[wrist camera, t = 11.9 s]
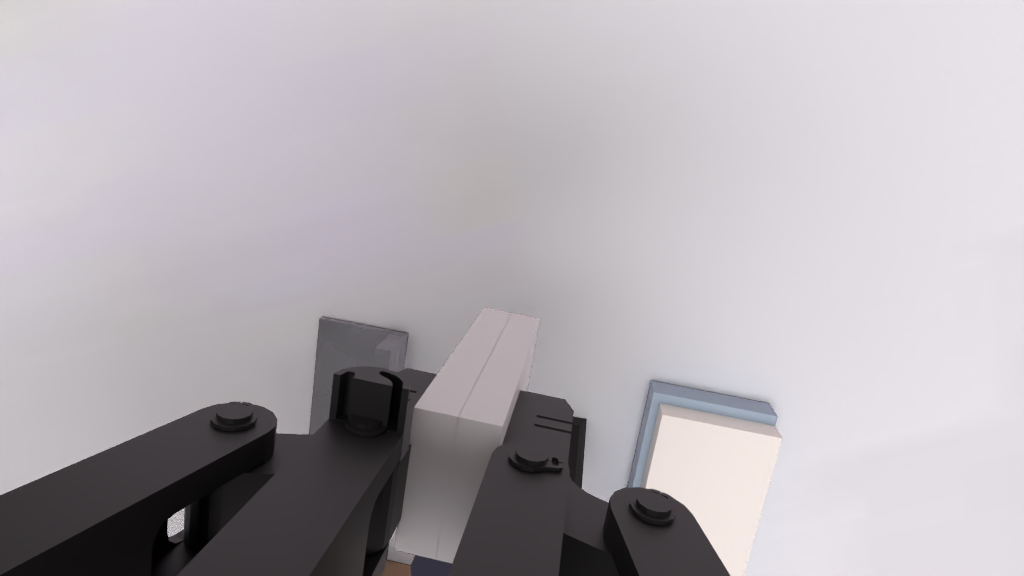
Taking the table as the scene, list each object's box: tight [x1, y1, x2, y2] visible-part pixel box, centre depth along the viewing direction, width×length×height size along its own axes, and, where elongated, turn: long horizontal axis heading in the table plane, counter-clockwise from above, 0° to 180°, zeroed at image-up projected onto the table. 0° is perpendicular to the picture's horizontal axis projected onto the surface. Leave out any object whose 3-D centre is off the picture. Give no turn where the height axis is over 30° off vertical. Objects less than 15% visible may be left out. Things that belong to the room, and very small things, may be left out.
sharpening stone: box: [628, 381, 783, 576], centre depth 34 cm, size 6×14×3 cm, turn 171°
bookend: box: [309, 317, 408, 435], centre depth 36 cm, size 5×14×3 cm, turn 171°
